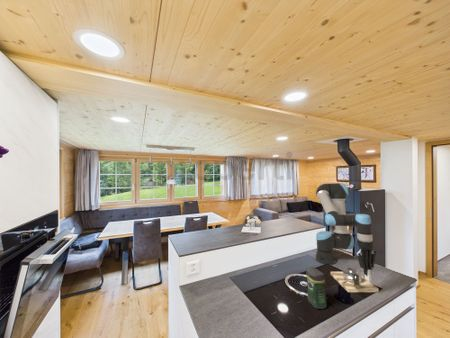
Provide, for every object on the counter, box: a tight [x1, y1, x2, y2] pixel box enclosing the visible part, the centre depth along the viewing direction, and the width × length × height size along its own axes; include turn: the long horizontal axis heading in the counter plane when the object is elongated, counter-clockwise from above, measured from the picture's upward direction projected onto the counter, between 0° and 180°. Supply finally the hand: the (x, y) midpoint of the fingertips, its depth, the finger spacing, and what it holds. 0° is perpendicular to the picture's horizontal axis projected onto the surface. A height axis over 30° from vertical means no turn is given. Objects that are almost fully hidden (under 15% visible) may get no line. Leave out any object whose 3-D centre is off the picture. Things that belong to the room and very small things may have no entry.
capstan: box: [342, 267, 362, 289], centre depth 116 cm, size 18×10×8 cm, turn 157°
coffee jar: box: [305, 267, 328, 310], centre depth 102 cm, size 10×8×19 cm
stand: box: [330, 271, 380, 293], centre depth 120 cm, size 20×18×2 cm
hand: (368, 279), depth 109 cm, fingers closed
